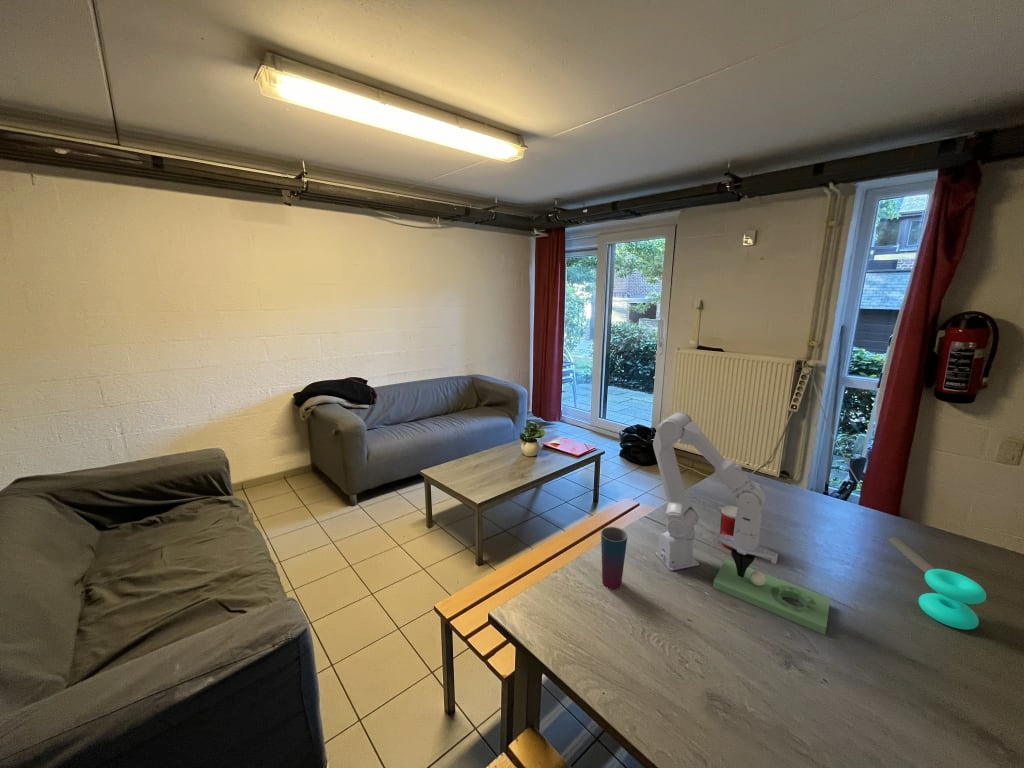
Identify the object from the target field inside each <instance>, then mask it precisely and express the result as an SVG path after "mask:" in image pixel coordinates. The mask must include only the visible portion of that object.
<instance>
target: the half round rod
mask: <svg viewBox="0 0 1024 768" xmlns="http://www.w3.org/2000/svg"><path fill="white" fill-rule="evenodd" d="M888 540H889V541H890V542H891V543H892V544H893V545H894V546H895V547H897V548H898V549H899V550H900V551H901V552H902V553H903V554H902V553H901V552H900V551H899V550H898V549H897V548H896V549H897V550H898V551H899V552H900V553H901V554H902V555H904V556H905V557H906V556H907V557H906V558H907V559H908V560H909V559H910V560H909V561H910V562H912V563H913V564H914V565H915V566H916V567H917V566H918V567H917V568H918V569H920V570H921V571H922V572H923V573H924V572H925V573H926V572H927V571H928V570H931V569H936V568H935V567H934V566H933V564H930V563H929V562H927V560H926V559H924V558H923V557H922V556H921V555H919V554H918V553H917V552H916V551H915V550H914V549H912V548H911V547H909V546H910V545H909V546H908V544H906V543H905V542H904V541H902V540H901V539H900V538H898V537H890V538H888V539H887V541H888ZM889 541H888V542H889ZM890 542H889V543H890ZM891 543H890V544H891ZM892 544H891V545H892ZM893 545H892V546H893ZM894 546H893V547H894ZM895 547H894V548H895ZM925 573H924V574H925Z"/></svg>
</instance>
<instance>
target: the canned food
mask: <svg viewBox="0 0 1024 768" xmlns="http://www.w3.org/2000/svg"><path fill="white" fill-rule="evenodd" d="M737 508H738V506H732V505H727V506H723V507H722V508H721V512H720V513H721V515H720V525H719V528H720V529H719V534H723V535H728V536H733V535H734V527H735V519H736V511H737ZM720 544H721V545H722V546H724V548H726V549H729V550H732V547H730V546H728V545H725V544H722V543H720Z"/></svg>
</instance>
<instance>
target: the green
mask: <svg viewBox="0 0 1024 768" xmlns="http://www.w3.org/2000/svg"><path fill="white" fill-rule="evenodd" d="M723 561H724V562H723V563H722V564H721V567H720V569H719V571H718V572H717V574H716V576H715V578H714V579H713V585H712V588H714V589H716V590H718V591H721V592H722V593H725V594H727V595H730V596H732V597H735V598H737V599H740V600H741V601H744V602H746V603H749V604H751V605H753V606H756V607H758V608H760V609H762V610H766V611H768V612H770V613H773V614H774V615H776V616H778V617H779V616H780V618H781V617H782V618H784V619H785V620H789V621H790V622H793V623H795V624H798V625H801V626H802V627H805V628H807V629H810V630H812V631H815V632H817V633H819V634H821V635H824V636H825V635H826V632H827V626H828V619H829V610H830V602H831V597H828V596H825V595H822V594H819V593H816V592H814V591H811V590H809V589H806V588H803V587H801V586H798V585H796V584H794V583H790V582H788V581H785V580H782V579H780V578H777V577H774V576H772V575H769V574H766V573H764V572H761V571H760V572H761V573H762V574H763V575H764V576H765V578H766V582H765V584H764V585H762V586H757V585H755V584H754V583H753V582H752V581H751V579H750V575H751V573H752V572H754V571H757V570H755V569H754V568H751V567H748V568H747V569H746V571H745V575H744V577H743V578H742V577H740V576H738V575H737V568H736V564H735V561H732V560H729V559H727V558H725V559H724V560H723ZM783 598H789V599H792V600H795V601H797V602H798V603H800V604H801V605H803V606H797V605H793V604H791V603H789V602H787V601H786V600H785V599H783Z"/></svg>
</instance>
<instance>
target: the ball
mask: <svg viewBox="0 0 1024 768" xmlns="http://www.w3.org/2000/svg"><path fill="white" fill-rule="evenodd" d="M762 573H763V572H762ZM762 573H761V571H759V570H756V571H754V572H752V573H751V575H750V579H751V581H752V582H753V583H754V584H755V585H757V586H762V585H764V584H765V582H766V578H765V576H764V575H763V574H762Z"/></svg>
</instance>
